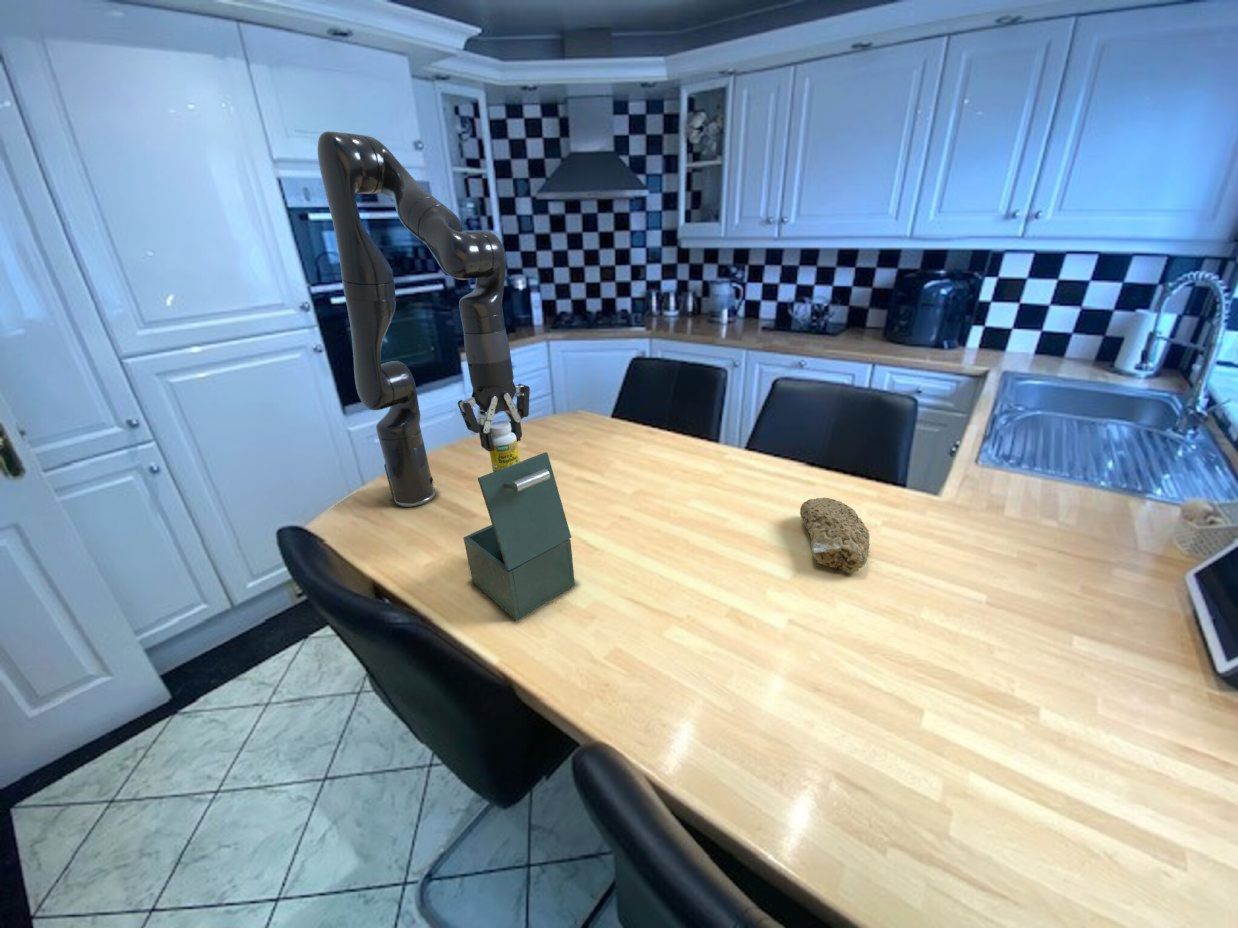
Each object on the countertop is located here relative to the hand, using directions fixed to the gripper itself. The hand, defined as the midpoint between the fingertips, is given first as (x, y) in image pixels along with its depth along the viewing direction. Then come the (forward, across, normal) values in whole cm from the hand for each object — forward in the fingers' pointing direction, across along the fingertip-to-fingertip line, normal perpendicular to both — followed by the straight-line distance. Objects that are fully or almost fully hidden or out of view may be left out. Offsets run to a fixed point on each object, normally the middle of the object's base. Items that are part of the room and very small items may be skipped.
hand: (502, 444), depth 96 cm
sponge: (+22, -42, +47) cm, 67 cm away
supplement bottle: (+6, 0, 0) cm, 6 cm away
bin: (+22, +7, +12) cm, 26 cm away
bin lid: (+4, +7, +17) cm, 19 cm away
